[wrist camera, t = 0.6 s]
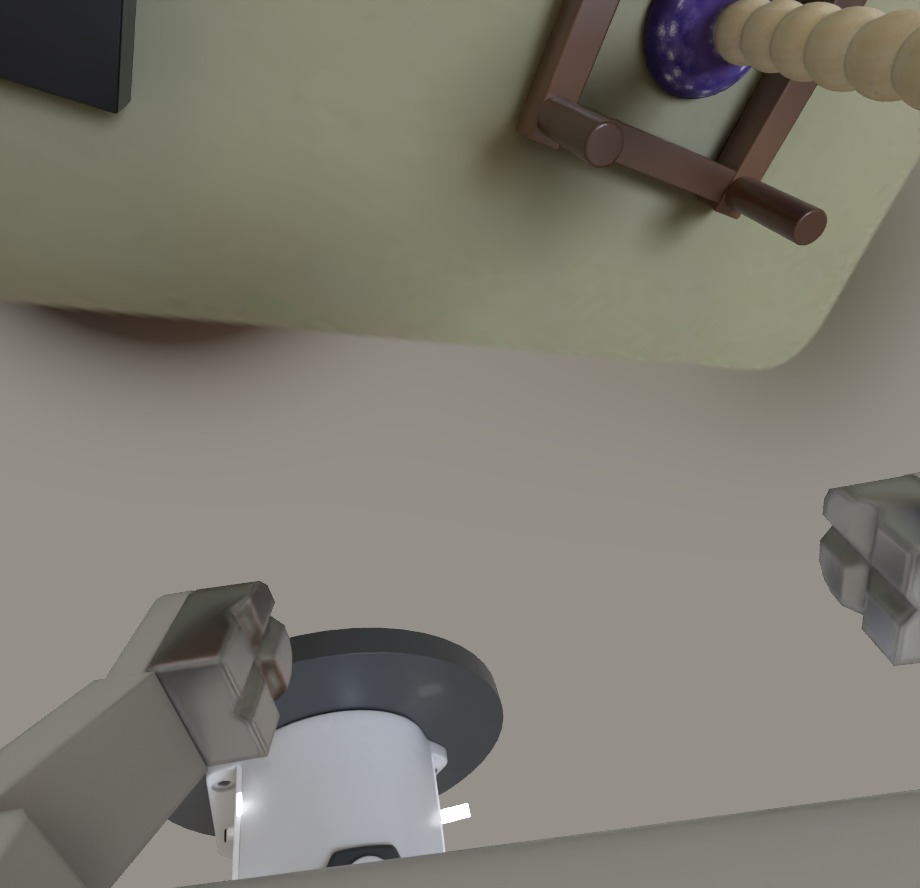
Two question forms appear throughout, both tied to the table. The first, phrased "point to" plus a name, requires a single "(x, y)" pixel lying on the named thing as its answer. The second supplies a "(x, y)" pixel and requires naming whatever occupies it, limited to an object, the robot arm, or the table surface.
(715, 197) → the rack
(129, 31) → the stove
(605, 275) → the table surface
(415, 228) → the table surface
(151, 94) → the table surface
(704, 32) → the toy lamp
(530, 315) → the table surface
